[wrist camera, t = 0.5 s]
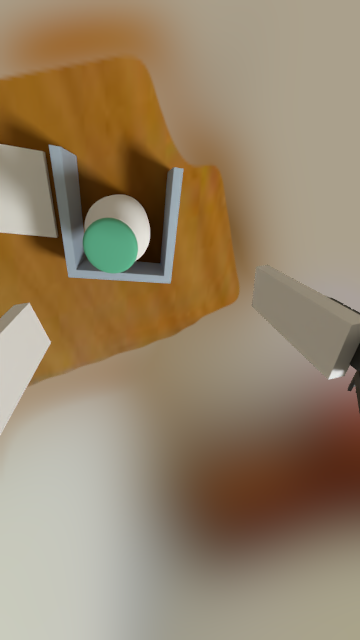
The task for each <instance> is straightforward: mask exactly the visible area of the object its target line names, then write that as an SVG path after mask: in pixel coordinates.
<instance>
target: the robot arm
mask: <svg viewBox="0 0 360 640" xmlns="http://www.w3.org/2000/svg"><path fill="white" fill-rule="evenodd" d="M252 307H253V308H254V309H255V310H256V311H257V312H259V313H260V314H261V315H262V316H263V317H264V318H265V319H266V320H267V321H268V322H269V323H270V324H271V325H272V326H273V327H274V328H275V329H276V330H277V331H278V332H279V333H280V334H281V335H282V336H284V337H285V339H287V340H288V341H289V342H290V343H291V344H292V345H293V346H294V347H295V348H296V349H297V350H298V351H299V352H300V353H301V354H302V355H303V356H304V357H305V358H306V359H307V360H308V361H309V362H310V363H311V364H313V365H314V366H315V367H316V368H317V369H318V370H319V371H320V372H321V373H322V374H323V375H324V376H325V377H326V378H327V379H333V378H337V377H341V376H345V373H346V372H347V370H348V368H349V366H350V365H351V366H352V367H353V368H355V369H356V370H357V372H356V373H355V375H354V377H353V379H352V381H351V383H350V385H349V387H348V391H351V390H352V388H353V387H355V386H356V393H357V399H358V406H359V412H360V313H359V312H357V311H356V310H354V309H353V310H352V309H351V308H350V307H348V306H346V305H343V304H342V303H341V302H339V301H337V300H335V299H333V298H329V297H326V296H324V295H322V294H320V293H319V292H317V291H315V290H313V289H311V288H309V287H307V286H306V285H304V284H302V283H300V282H298V281H296V280H294V279H293V278H291V277H289V276H287V275H285V274H284V273H281V272H280V271H278V270H276V269H274V268H273V267H271V266H269V265H265V266H258V267H256V274H255V283H254V291H253V300H252ZM50 343H51V342H50V340H49V338H48V336H47V334H46V332H45V331H44V329H43V327H42V325H41V323H40V321H39V320H38V318H37V316H36V314H35V312H34V310H33V309H32V307H31V305H30V303H24V304H18V305H14V306H13V307H12V308H11V309H10V310H9V311H7V312H6V313H5V314H4V315H3V316H2V317H1V318H0V435H1V433H2V431H3V429H4V427H5V426H6V424H7V422H8V420H9V418H10V416H11V415H12V413H13V411H14V409H15V407H16V406H17V404H18V402H19V400H20V398H21V396H22V394H23V393H24V391H25V389H26V387H27V385H28V384H29V382H30V380H31V378H32V376H33V374H34V373H35V371H36V369H37V367H38V365H39V363H40V362H41V360H42V358H43V356H44V354H45V352H46V351H47V349H48V347H49V345H50Z"/></svg>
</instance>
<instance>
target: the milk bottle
mask: <svg viewBox="0 0 360 640" xmlns="http://www.w3.org/2000/svg"><path fill="white" fill-rule="evenodd" d="M149 241H150V225H149V221H148V217H147V214H146V212H145V210H144V208H143V207H142V205H141V204H140V203H139V202H138V201H137V200H135V199H134V198H132V197H130V196H127V195H123V194H117V195H110V196H106V197H104V198H102V199H100V200H98V201H97V202H95V203H94V204H93V205H92V207H91V208H90V209H89V211H88V213H87V216H86V219H85V233H84V236H83V249H84V253H85V255H86V257H87V259H88V260H89V262H90V263H91V264H92V265H93V266H94V267H96V268H97V269H99V270H101V271H103V272H106V273H121V272H123V271H126V270H127V269H129V268H130V267H131V266H132V265H133V264H134V262H135V261H136V260H138V259H139V258H140V257H141V256H142V255H143V254H144V253H145V251H146V249H147V247H148V245H149Z"/></svg>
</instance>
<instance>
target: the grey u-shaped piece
mask: <svg viewBox="0 0 360 640" xmlns="http://www.w3.org/2000/svg"><path fill="white" fill-rule="evenodd" d="M49 150H50V157H51V163H52V170H53V177H54V184H55V190H56V197H57V204H58V210H59V217H60V224H61V230H62V237H63V244H64V251H65V257H66V264H67V271H68V277H74V278H90V279H106V280H122V281H139V282H155V283H171V276H172V267H173V258H174V249H175V240H176V231H177V222H178V213H179V204H180V195H181V186H182V177H183V169H181V168H175V167H174V168H172V169H171V170H170V171H168V173H167V186H166V198H165V211H164V223H163V236H162V248H161V260H160V263H150V262H137V261H135V262H134V264H133V265H132V266H131V267H130V268H129V269H127V270H126V271H123V272H121V273H106V272H103V271H101V270H99V269H97V268H96V267H94V266H93V265H92V264H91V263H90V262H89V260H88V259H87V257H86V255H85V253H84V249H83V236H84V228H83V218H82V208H81V198H80V188H79V178H78V168H77V157H76V155H74V154H72V153H70V152H69V151H67V150H65V149H64V148H62V147H59V146H53V145H49Z"/></svg>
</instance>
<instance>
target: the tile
mask: <svg viewBox="0 0 360 640" xmlns="http://www.w3.org/2000/svg"><path fill="white" fill-rule="evenodd" d="M0 232H3V233H13V234H23V235H34V236H44V237H54V238H57V237H58V231H57V225H56V218H55V212H54V206H53V199H52V193H51V187H50V180H49V174H48V168H47V161H46V155H45V152H43V151H38V150H32V149H27V148H21V147H15V146H9V145H4V144H0Z"/></svg>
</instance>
